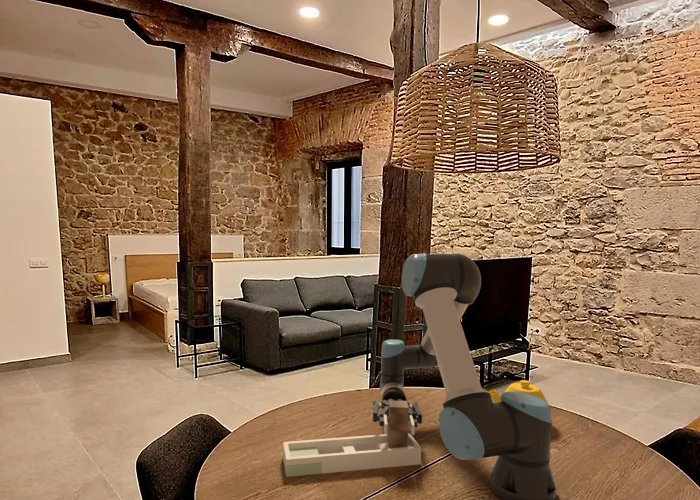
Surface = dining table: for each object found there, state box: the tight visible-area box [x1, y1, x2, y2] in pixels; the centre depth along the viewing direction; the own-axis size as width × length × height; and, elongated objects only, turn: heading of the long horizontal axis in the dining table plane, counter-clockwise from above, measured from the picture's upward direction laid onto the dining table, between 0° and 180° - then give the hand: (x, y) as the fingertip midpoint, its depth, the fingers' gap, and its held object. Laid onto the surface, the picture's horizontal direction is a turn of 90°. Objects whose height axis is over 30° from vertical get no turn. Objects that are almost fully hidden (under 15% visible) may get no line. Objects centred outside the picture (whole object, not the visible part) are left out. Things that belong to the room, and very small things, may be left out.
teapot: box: [488, 379, 548, 403], centre depth 160 cm, size 20×16×14 cm
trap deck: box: [282, 431, 422, 478], centre depth 132 cm, size 36×10×4 cm, turn 103°
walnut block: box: [387, 400, 410, 449], centre depth 134 cm, size 5×5×12 cm
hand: (399, 429), depth 129 cm, fingers open, 6 cm apart
